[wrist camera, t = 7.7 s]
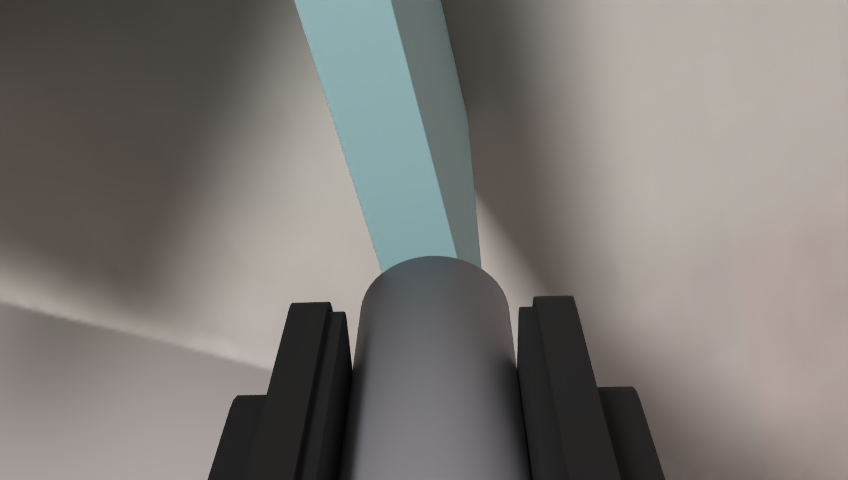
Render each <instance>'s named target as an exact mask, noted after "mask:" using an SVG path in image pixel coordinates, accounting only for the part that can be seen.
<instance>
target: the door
mask: <svg viewBox="0 0 848 480" xmlns="http://www.w3.org/2000/svg"><path fill="white" fill-rule="evenodd" d="M294 1H295V4H296V7H297V10H298V14H299V17H300V20H301V23H302V26H303V29H304V32H305V35H306V38H307V41H308V45H309V48H310V51H311V54H312V57H313V60H314V63H315V66H316V69H317V73H318V76H319V79H320V82H321V85H322V88H323V91H324V94H325V97H326V100H327V104H328V107H329V110H330V113H331V116H332V119H333V122H334V125H335V128H336V131H337V135H338V138H339V141H340V144H341V147H342V150H343V153H344V156H345V159H346V162H347V166H348V169H349V172H350V175H351V178H352V181H353V184H354V187H355V190H356V194H357V197H358V200H359V203H360V206H361V209H362V212H363V215H364V218H365V221H366V225H367V228H368V231H369V234H370V237H371V240H372V243H373V246H374V249H375V252H376V256H377V259H378V262H379V265H380V268H381V271H382V274H381V275H380V276H379V277H377V278H376V279H375V281H374V282H373V283H372V284H371V285H370V287H369V289H368V290H367V292H366V294H365V296H364V299H363V302H362V306H361V312H360V319H359V327H358V334H357V341H356V349H355V356H354V364H353V371H352V378H351V386H350V393H349V401H348V408H347V416H346V423H345V431H344V438H343V445H342V453H341V460H340V468H339V475H338V480H531V473H530V465H529V457H528V450H527V442H526V435H525V427H524V420H523V412H522V405H521V397H520V389H519V382H518V374H517V366H516V359H515V351H514V344H513V336H512V329H511V321H510V314H509V307H508V302H507V299H506V296H505V294H504V292H503V290H502V289H501V287H500V286H499V285H498V283H497V282H496V281H495V280H494V279H493V278H492V277H491V276H490V275H489V274H488V273H486V272H485V271H484V270H482V269H481V258H480V247H479V236H478V225H477V213H476V202H475V191H474V180H473V169H472V157H471V146H470V135H469V124H468V118H467V114H466V109H465V105H464V100H463V96H462V92H461V87H460V83H459V78H458V74H457V69H456V65H455V61H454V56H453V52H452V47H451V43H450V39H449V34H448V30H447V25H446V21H445V16H444V12H443V8H442V3H441V0H294Z"/></svg>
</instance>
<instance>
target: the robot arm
mask: <svg viewBox="0 0 848 480" xmlns="http://www.w3.org/2000/svg"><path fill="white" fill-rule="evenodd" d="M517 374H518V382H519V389H520V397H521V405H522V412H523V420H524V427H525V435H526V442H527V450H528V457H529V465H530V473H531V480H665V478H664V474H663V471H662V468H661V465H660V462H659V459H658V456H657V453H656V449H655V446H654V443H653V440H652V437H651V434H650V431H649V427H648V424H647V421H646V418H645V415H644V412H643V409H642V406H641V402H640V399H639V397H638V394H637V392H636V390H635V389H634V388H633V387H597V385H596V381H595V377H594V374H593V370H592V366H591V362H590V358H589V354H588V350H587V346H586V343H585V339H584V335H583V331H582V327H581V323H580V319H579V315H578V312H577V308H576V304H575V300H574V297H573V296H538V297H534V298H533V306H532V307H520V308H519V319H518V354H517ZM351 378H352V362H351V353H350V345H349V336H348V327H347V319H346V314H345V312H333V310H332V306H331V303H330V302H309V303H292V304H291V305H290V308H289V311H288V315H287V319H286V323H285V327H284V330H283V334H282V338H281V342H280V346H279V349H278V353H277V357H276V361H275V365H274V368H273V372H272V376H271V380H270V384H269V388H268V392H267V395H238V396H237V397H236V398H235V399H234V400H233V402H232V405H231V407H230V410H229V414H228V417H227V420H226V423H225V426H224V429H223V433H222V436H221V439H220V442H219V445H218V448H217V452H216V455H215V458H214V461H213V464H212V468H211V471H210V474H209V478H208V480H338V475H339V468H340V460H341V453H342V445H343V438H344V431H345V423H346V416H347V408H348V401H349V393H350V386H351Z"/></svg>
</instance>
